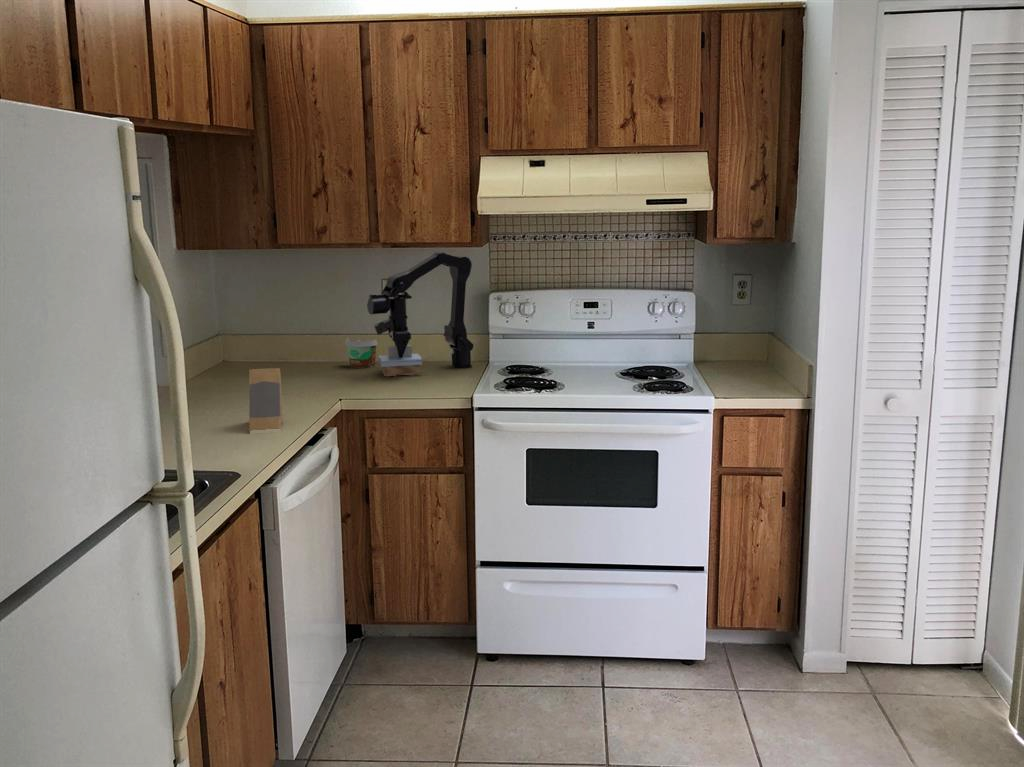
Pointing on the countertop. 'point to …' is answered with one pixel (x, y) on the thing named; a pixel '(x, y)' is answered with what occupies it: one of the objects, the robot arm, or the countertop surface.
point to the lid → (394, 359)
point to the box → (400, 370)
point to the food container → (362, 352)
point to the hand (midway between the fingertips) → (400, 356)
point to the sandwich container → (265, 399)
